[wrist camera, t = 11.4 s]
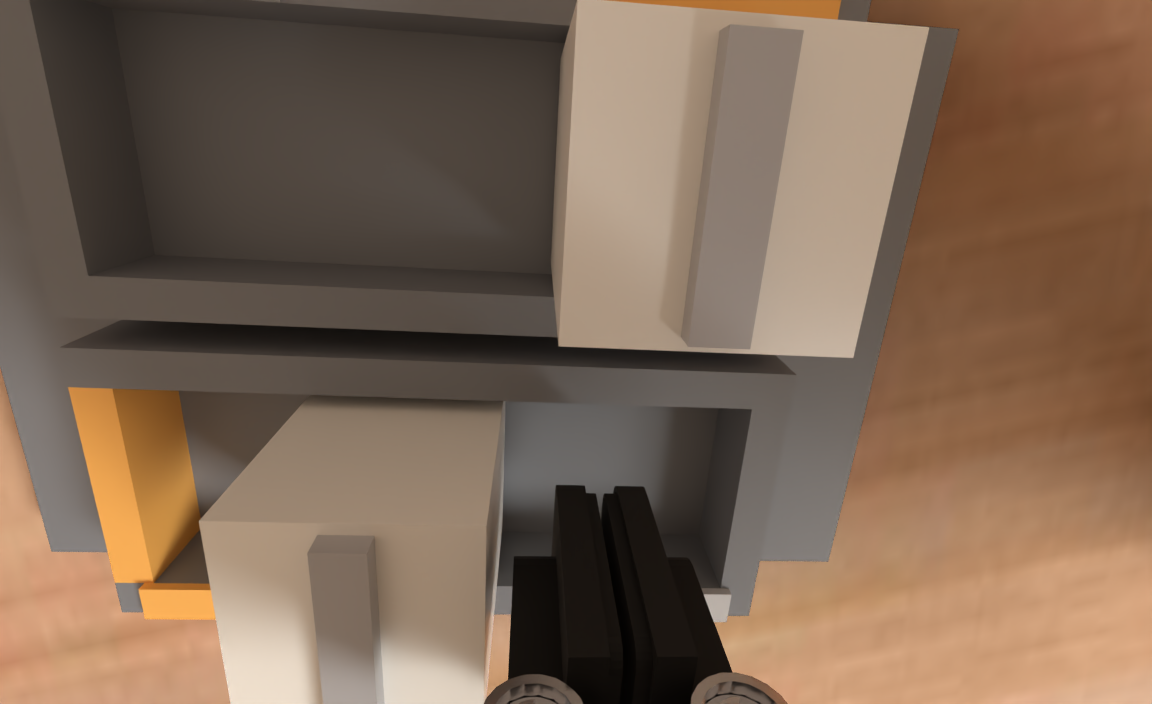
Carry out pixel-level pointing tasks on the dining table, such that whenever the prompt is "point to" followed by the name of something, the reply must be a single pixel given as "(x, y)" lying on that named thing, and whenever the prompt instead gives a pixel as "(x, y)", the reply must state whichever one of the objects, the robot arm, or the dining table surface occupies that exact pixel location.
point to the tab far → (362, 554)
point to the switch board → (365, 279)
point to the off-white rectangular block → (724, 176)
